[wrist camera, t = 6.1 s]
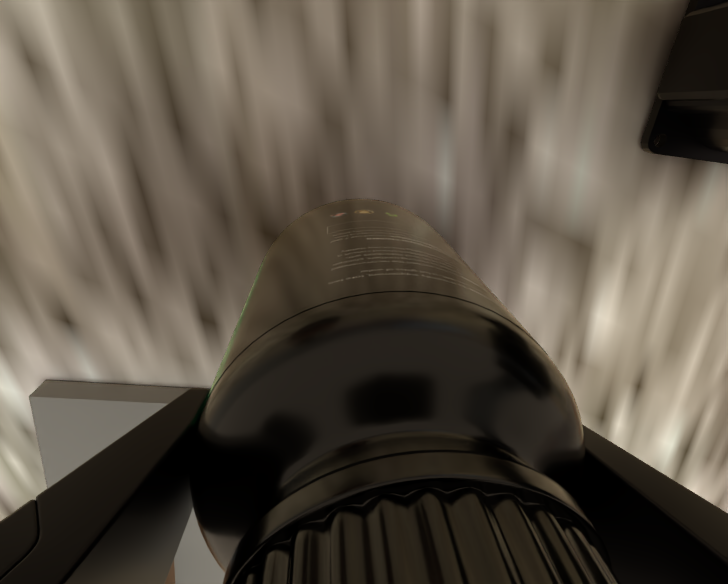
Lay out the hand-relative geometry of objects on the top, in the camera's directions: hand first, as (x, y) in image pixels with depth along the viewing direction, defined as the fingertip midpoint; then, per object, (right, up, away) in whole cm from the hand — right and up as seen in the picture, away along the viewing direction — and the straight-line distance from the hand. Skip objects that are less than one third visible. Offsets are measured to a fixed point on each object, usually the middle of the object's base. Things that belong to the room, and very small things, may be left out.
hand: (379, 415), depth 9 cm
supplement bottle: (-1, +3, +6) cm, 7 cm away
